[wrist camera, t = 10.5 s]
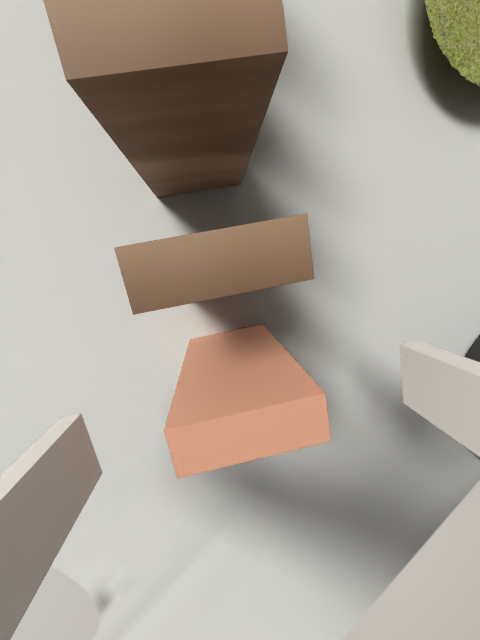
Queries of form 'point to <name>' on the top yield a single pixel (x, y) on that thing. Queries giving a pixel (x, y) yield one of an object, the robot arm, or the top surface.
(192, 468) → the domino
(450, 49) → the green round flat disc
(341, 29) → the top surface
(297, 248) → the domino
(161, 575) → the top surface
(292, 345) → the top surface
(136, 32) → the domino
